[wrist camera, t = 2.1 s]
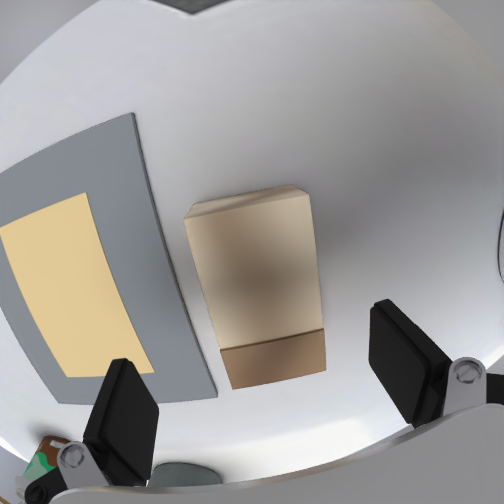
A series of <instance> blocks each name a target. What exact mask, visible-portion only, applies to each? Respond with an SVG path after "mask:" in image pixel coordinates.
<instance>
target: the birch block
mask: <svg viewBox="0 0 504 504" xmlns="http://www.w3.org/2000/svg"><path fill="white" fill-rule="evenodd" d="M183 221H184V225H185V229H186V233H187V237H188V241H189V244H190V248H191V252H192V256H193V259H194V263H195V267H196V270H197V274H198V278H199V281H200V285H201V288H202V292H203V295H204V299H205V302H206V305H207V309H208V312H209V315H210V319H211V322H212V325H213V328H214V332H215V335H216V338H217V341H218V344H219V348H220V353H221V356H222V359H223V362H224V365H225V368H226V371H227V374H228V377H229V380H230V383H231V386H232V389H240V388H246V387H252V386H257V385H263V384H268V383H273V382H278V381H283V380H288V379H292V378H297V377H301V376H306V375H310V374H314V373H318V372H322V371H326V353H325V335H324V329H323V319H322V306H321V295H320V284H319V273H318V264H317V254H316V245H315V237H314V229H313V221H312V213H311V206H310V199H309V195H308V194H307V193H305V192H303V191H301V190H300V189H298V188H296V187H294V186H293V185H288V186H282V187H276V188H271V189H265V190H260V191H255V192H249V193H244V194H239V195H234V196H229V197H225V198H220V199H215V200H210V201H206V202H201V203H197V204H193V206H192V207H191V209H190V210H189V212H188V213H187V215H186V216H185V218H184V219H183Z"/></svg>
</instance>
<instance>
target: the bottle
mask: <svg viewBox="0 0 504 504" xmlns="http://www.w3.org/2000/svg"><path fill="white" fill-rule="evenodd" d="M217 484H222V482H221V479H220V477H219V475H218V474H216V473H215V472H214V471H211V470H209V469H207V468H204V467H200V466H197V465H191V464H185V463H168V464H162V465H160V466H157V467H156V468H155V470H154V471H153V473H152V475H151V477H150V479H149V482H148V485H147V487H189V486H205V485H217Z"/></svg>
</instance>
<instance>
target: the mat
mask: <svg viewBox="0 0 504 504" xmlns="http://www.w3.org/2000/svg"><path fill="white" fill-rule="evenodd" d="M0 307H1V309H2V311H3V313H4V315H5V317H6V319H7V321H8V323H9V325H10V327H11V329H12V331H13V333H14V335H15V337H16V338H17V340H18V342H19V344H20V345H21V347H22V349H23V351H24V352H25V354H26V356H27V357H28V359H29V361H30V362H31V364H32V365H33V367H34V369H35V370H36V372H37V373H38V375H39V376H40V378H41V379H42V381H43V382H44V384H45V385H46V387H47V388H48V389H49V391H50V392H51V394H52V395H53V396H54V398H55V399H56V400H57V402H58V403H61V404H79V405H94V404H95V401H96V399H97V396H98V393H99V391H100V388H101V386H102V383H103V381H104V378H105V376H106V373H107V371H108V368H109V366H110V363H111V361H112V360H113V359H119V358H127V359H128V360H129V361H132V362H133V363H134V365H135V367H136V369H137V371H138V372H139V374H140V376H141V378H142V380H143V381H144V383H145V385H146V387H147V388H148V390H149V392H150V393H151V395H152V397H153V398H154V400H155V402H156V403H157V404H158V403H172V402H183V401H193V400H202V399H210V398H218V392H217V390H216V387H215V385H214V382H213V380H212V377H211V375H210V373H209V370H208V367H207V365H206V362H205V360H204V357H203V355H202V352H201V349H200V347H199V344H198V341H197V339H196V336H195V333H194V330H193V328H192V325H191V322H190V319H189V316H188V314H187V311H186V308H185V305H184V302H183V299H182V296H181V293H180V290H179V287H178V284H177V281H176V278H175V274H174V271H173V268H172V265H171V262H170V258H169V255H168V252H167V248H166V245H165V242H164V238H163V235H162V231H161V227H160V224H159V220H158V217H157V213H156V209H155V205H154V202H153V198H152V194H151V190H150V186H149V182H148V178H147V173H146V169H145V165H144V160H143V156H142V151H141V147H140V142H139V137H138V133H137V128H136V123H135V117H134V114H133V113H129V114H126V115H123V116H120V117H117V118H115V119H112V120H109V121H107V122H104V123H101V124H99V125H96V126H94V127H92V128H89V129H87V130H84V131H82V132H80V133H77V134H75V135H73V136H71V137H69V138H66V139H64V140H62V141H60V142H58V143H56V144H54V145H52V146H50V147H48V148H46V149H44V150H42V151H40V152H38V153H36V154H34V155H32V156H30V157H28V158H27V159H25V160H23V161H21V162H20V163H18V164H16V165H14V166H13V167H11V168H9V169H8V170H6V171H4V172H3V173H1V174H0Z"/></svg>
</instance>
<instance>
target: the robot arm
mask: <svg viewBox="0 0 504 504" xmlns="http://www.w3.org/2000/svg"><path fill="white" fill-rule="evenodd" d="M499 263H500V272H501V276H502V279H503V281H504V219H503V225H502V230H501V237H500V245H499ZM369 364H370V366H371V368H372V370H373V371H374V373H375V374H376V376H377V377H378V379H379V380H380V382H381V383H382V385H383V387H384V388H385V390H386V391H387V393H388V394H389V396H390V398H391V399H392V401H393V402H394V404H395V405H396V407H397V409H398V410H399V412H400V413H401V415H402V417H403V418H404V420H405V421H406V423H408V424H410V423H411V424H412V425H413V427H414V428H415V430H413V431H411V432H409V433H406V434H404V435H402V436H399V437H397V438H395V439H392V440H390V441H388V442H385V443H383V444H380V445H378V446H375V447H373V448H371V449H367V450H365V451H362V452H359V453H356V454H354V455H351V456H348V457H345V458H342V459H339V460H335V461H332V462H329V463H325V464H322V465H318V466H315V467H311V468H307V469H303V470H299V471H295V472H291V473H287V474H282V475H277V476H272V477H267V478H261V479H255V480H249V481H242V482H235V483H226V484H217V485H205V486H189V487H146V483H147V480H149V479H150V477H151V469H152V460H153V453H154V445H155V438H156V431H157V424H158V417H159V408H158V405H157V403H156V402H155V400H154V398H153V397H152V395H151V393H150V392H149V390H148V388H147V387H146V385H145V383H144V381H143V380H142V378H141V376H140V374H139V372H138V371H137V369H136V367H135V365H134V363H133V362H132V361H129V360H128V359H127V358H119V359H113V360H112V361H111V363H110V366H109V368H108V371H107V373H106V376H105V378H104V381H103V383H102V386H101V388H100V391H99V393H98V396H97V399H96V401H95V404H94V407H93V409H92V412H91V415H90V418H89V420H88V423H87V426H86V429H85V432H84V435H83V438H84V439H83V442H78V441H73V442H69V443H67V444H65V445H64V446H63V447H62V448H61V449H60V450H59V452H58V455H57V463H58V466H57V467H55V468H54V469H52V470H51V471H49V472H48V473H46V474H44V475H43V476H41V477H40V478H38V479H36V480H35V481H33V482H31V483H30V484H29V485H28V486H27V488H26V490H25V493H24V498H25V503H24V502H22V501H21V502H20V503H19V504H504V375H499V374H490V373H486V369H485V367H484V365H483V364H482V363H481V362H480V361H479V360H477V359H475V358H471V357H462V358H459V359H457V360H455V361H454V362H453V361H452V360H451V359H450V358H449V357H448V356H447V355H446V354H445V353H444V352H443V351H442V350H441V349H440V348H439V347H438V346H437V345H436V344H435V343H434V342H433V341H432V340H431V339H430V338H429V337H428V336H427V335H426V334H425V333H424V332H423V331H422V330H421V329H420V328H419V327H418V326H417V325H416V324H414V323H413V322H412V321H411V320H410V319H409V318H408V317H407V316H406V315H405V314H404V313H403V312H402V311H401V310H400V309H399V308H398V307H397V306H396V305H395V304H394V303H393V302H392V301H391V300H389V299H385V300H382V301H379V302H376V303H374V307H372V308H371V309H370V339H369ZM424 424H425V425H424ZM422 425H423V426H422ZM420 426H421V427H420ZM417 427H419V428H417ZM416 428H417V429H416ZM134 486H140V487H134Z"/></svg>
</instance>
